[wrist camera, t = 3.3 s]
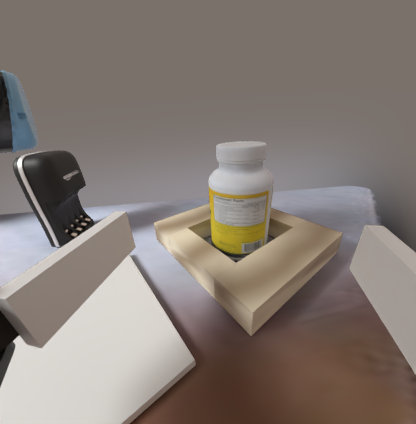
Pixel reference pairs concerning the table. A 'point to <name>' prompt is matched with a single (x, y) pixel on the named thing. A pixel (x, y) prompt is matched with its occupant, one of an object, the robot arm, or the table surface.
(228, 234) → the pill bottle
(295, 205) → the table surface
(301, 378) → the table surface
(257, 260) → the holder
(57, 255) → the robot arm
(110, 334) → the pad
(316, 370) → the table surface
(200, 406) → the table surface
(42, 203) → the battery charger
